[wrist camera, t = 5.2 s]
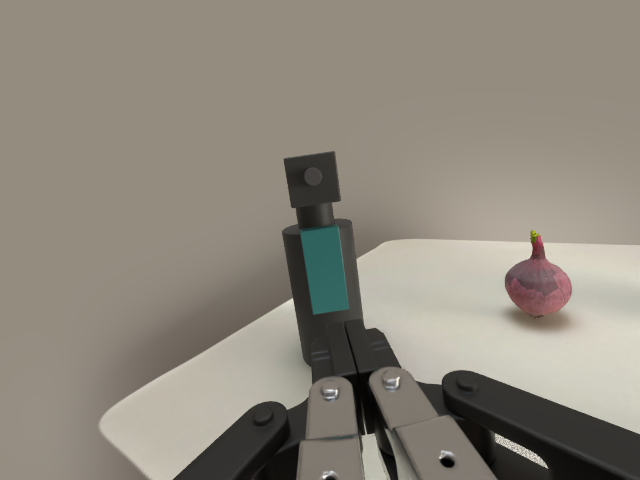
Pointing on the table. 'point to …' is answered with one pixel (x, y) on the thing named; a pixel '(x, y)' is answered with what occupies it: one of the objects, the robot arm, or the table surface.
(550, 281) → the vegetable
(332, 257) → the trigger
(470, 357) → the table surface
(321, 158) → the spray bottle
